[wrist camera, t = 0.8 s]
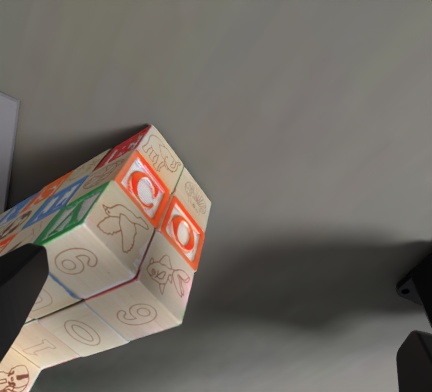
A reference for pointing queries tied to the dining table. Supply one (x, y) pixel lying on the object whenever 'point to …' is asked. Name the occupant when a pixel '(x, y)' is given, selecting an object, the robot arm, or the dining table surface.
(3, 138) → the grey flat board
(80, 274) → the stack of blocks
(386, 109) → the dining table surface
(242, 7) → the dining table surface
